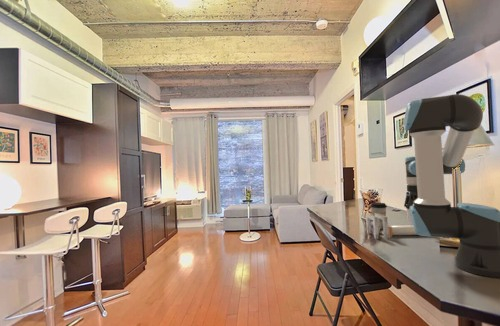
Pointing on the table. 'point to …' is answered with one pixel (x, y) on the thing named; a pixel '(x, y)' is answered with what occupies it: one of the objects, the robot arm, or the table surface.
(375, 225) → the collar
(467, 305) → the table surface
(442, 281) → the table surface
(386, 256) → the table surface
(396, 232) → the tube
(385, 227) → the collar
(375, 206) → the coffee cup
